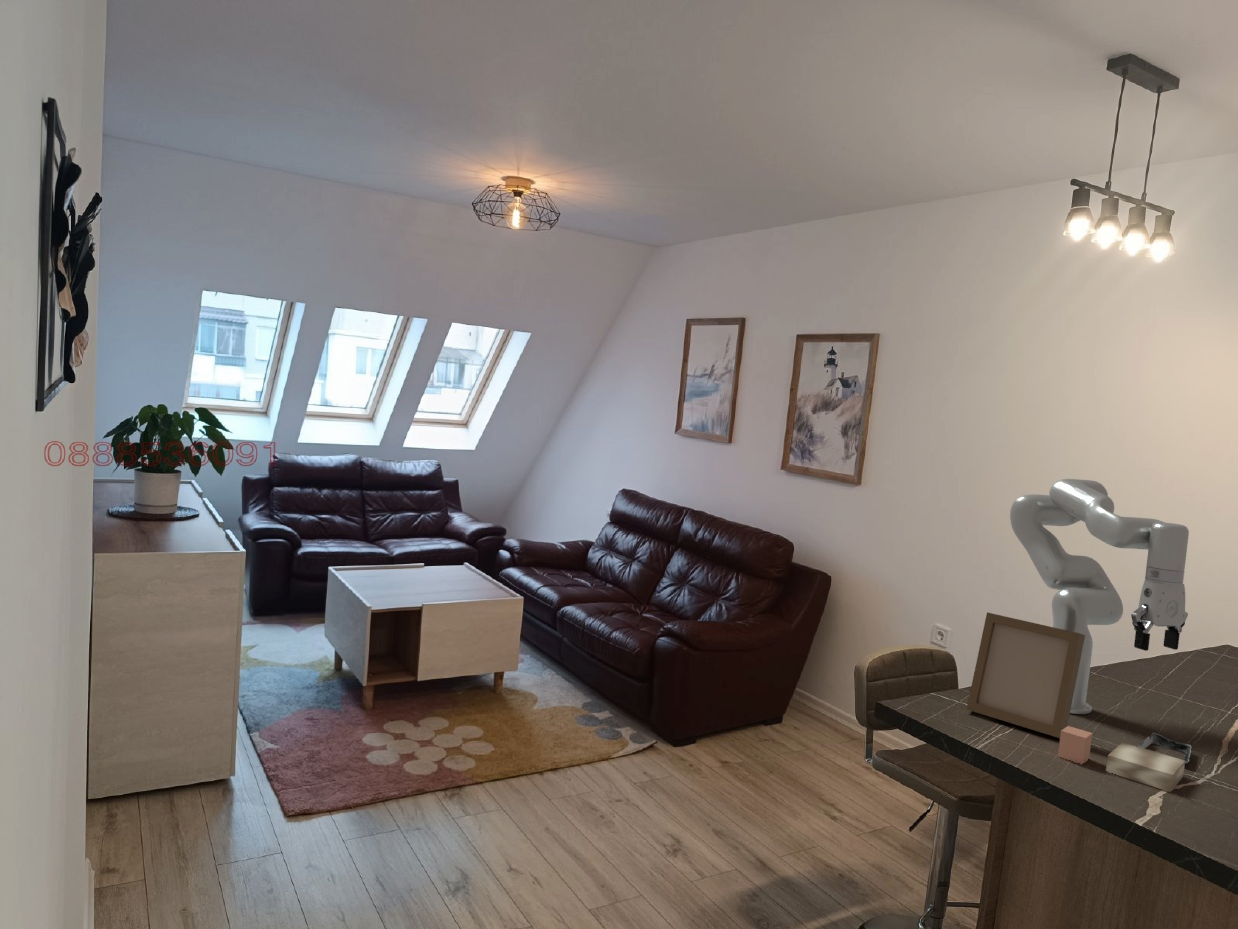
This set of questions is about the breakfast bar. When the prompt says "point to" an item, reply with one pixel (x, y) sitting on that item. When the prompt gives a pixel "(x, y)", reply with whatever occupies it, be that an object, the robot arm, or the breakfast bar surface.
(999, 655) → the photo frame
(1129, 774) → the birch block
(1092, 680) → the breakfast bar surface
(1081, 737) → the terracotta block
